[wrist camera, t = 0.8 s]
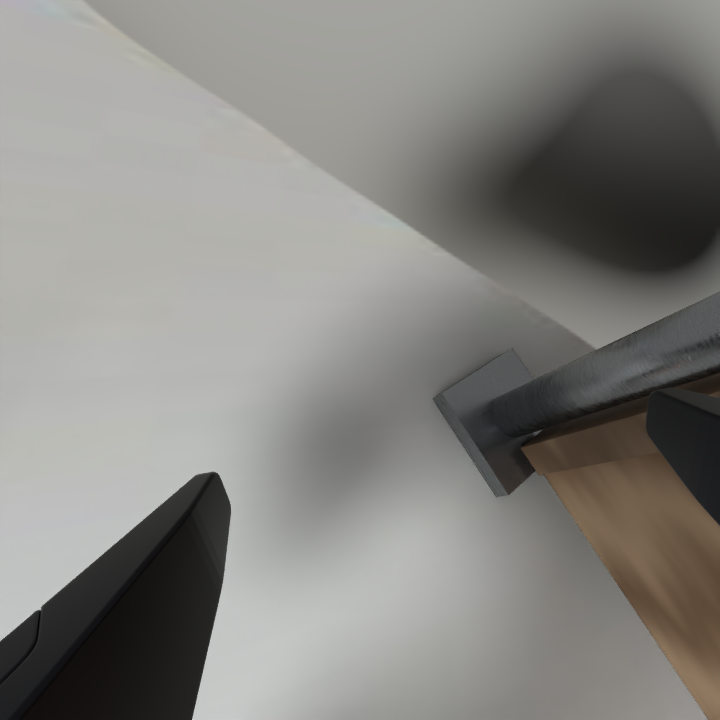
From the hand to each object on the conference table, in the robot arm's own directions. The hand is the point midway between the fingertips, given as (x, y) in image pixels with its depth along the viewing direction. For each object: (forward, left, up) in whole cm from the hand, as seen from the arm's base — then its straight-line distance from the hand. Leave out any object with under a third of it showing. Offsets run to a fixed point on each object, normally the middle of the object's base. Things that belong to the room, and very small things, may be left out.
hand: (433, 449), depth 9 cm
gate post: (+4, -11, -12) cm, 17 cm away
